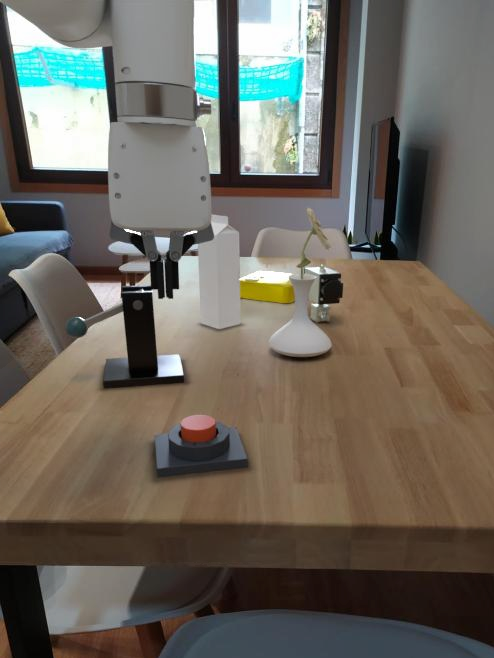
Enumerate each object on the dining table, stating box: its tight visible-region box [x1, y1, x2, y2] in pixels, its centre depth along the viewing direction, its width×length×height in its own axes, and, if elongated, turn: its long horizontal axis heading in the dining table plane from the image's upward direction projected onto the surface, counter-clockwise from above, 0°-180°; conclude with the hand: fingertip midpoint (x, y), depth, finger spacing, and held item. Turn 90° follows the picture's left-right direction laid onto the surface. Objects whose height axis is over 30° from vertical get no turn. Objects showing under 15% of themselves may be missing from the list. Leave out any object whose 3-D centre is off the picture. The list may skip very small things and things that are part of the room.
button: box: [180, 414, 217, 443], centre depth 63 cm, size 4×4×2 cm
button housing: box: [154, 420, 249, 479], centre depth 63 cm, size 10×8×3 cm
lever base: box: [102, 284, 185, 389], centre depth 85 cm, size 12×10×14 cm
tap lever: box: [64, 288, 144, 339], centre depth 82 cm, size 13×3×3 cm, turn 105°
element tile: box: [240, 270, 295, 304], centre depth 139 cm, size 15×15×5 cm
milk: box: [197, 214, 241, 330], centre depth 110 cm, size 6×6×22 cm
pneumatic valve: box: [303, 264, 344, 324], centre depth 116 cm, size 6×12×12 cm, turn 21°
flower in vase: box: [268, 206, 333, 358], centre depth 95 cm, size 13×11×25 cm
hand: (165, 295), depth 59 cm, fingers closed
